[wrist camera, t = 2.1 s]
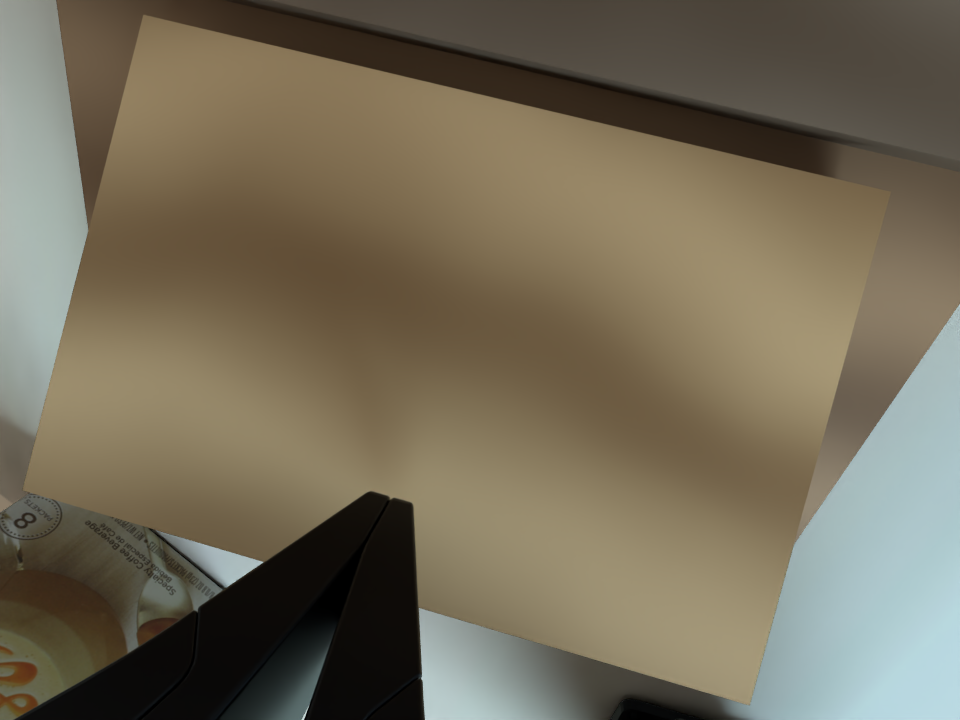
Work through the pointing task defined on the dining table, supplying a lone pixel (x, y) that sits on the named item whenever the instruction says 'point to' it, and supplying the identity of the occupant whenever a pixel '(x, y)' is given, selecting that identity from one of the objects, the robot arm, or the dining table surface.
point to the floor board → (658, 114)
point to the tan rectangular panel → (459, 346)
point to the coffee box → (81, 596)
